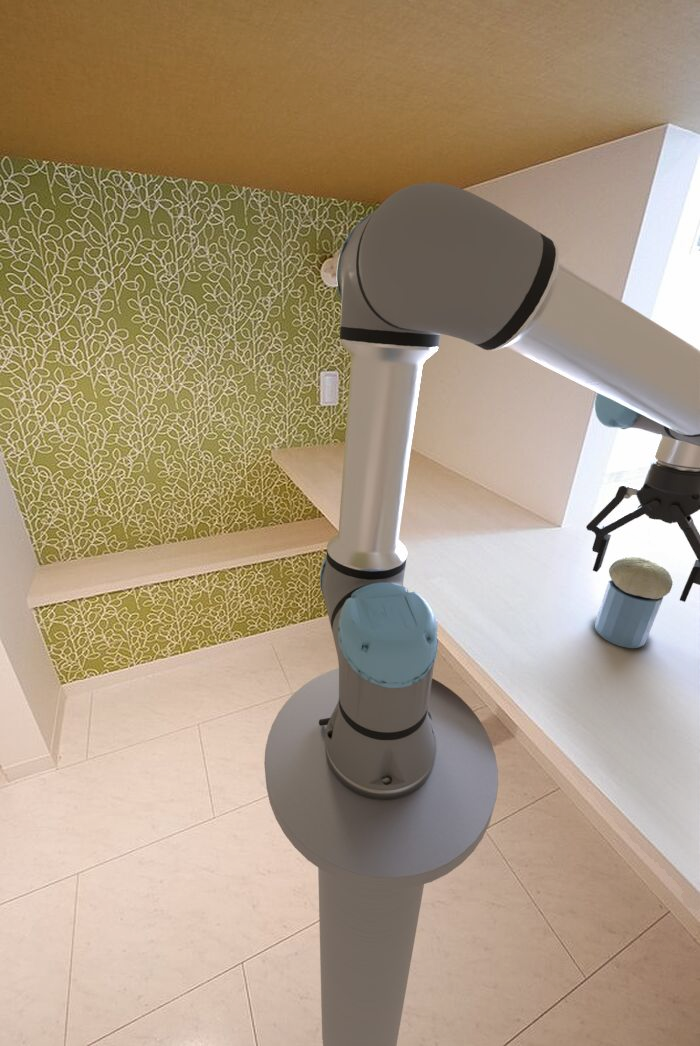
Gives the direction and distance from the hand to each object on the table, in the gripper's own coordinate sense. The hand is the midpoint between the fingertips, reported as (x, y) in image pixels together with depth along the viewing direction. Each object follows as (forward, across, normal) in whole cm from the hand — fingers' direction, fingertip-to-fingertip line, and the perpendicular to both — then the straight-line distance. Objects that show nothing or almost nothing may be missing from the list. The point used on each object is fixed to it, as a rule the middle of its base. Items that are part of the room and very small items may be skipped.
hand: (637, 582), depth 75 cm
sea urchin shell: (+1, 0, 0) cm, 1 cm away
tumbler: (+11, 0, 0) cm, 11 cm away
